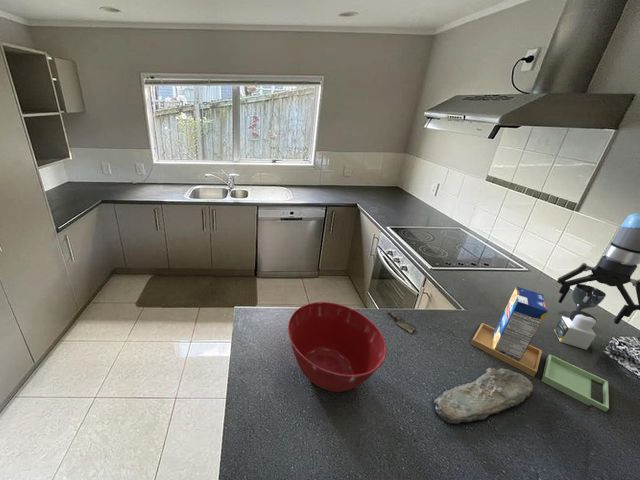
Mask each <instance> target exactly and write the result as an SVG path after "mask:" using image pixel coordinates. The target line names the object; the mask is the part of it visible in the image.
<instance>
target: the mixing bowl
mask: <svg viewBox="0 0 640 480" xmlns="http://www.w3.org/2000/svg"><path fill="white" fill-rule="evenodd" d="M287 333H288V338H289V342H290V345H291V349H292V352H293V355H294V358H295V360H296V362H297V365H298V367H299V368H300V370H301V371H302V373H303V375H304V376H305V377H306V378H307V379H308V380H309V381H310V382H311V383H312V384H314V385H315V386H317V387H319V388H321V389H323V390H326V391H329V392H337V393H340V392H346V391H349V390H352V389H354V388H355V389H356V388H357V387H359V386H360V385H362V384H363V383H364V382H366V381H367V380H368V379H370V378H371V376H372V375H373V374H374V373H375V372H376V371H377V370H378V369H380V367H381V366H382V365H383V364H384V362H385V360H386V357H387V344H386V340H385V337H384V335H383V334H382V332H381V331H380V330H379V328H378V327H377V326H376V324H375V323H374V322H372V321H371V319H369V318H368V317H367V316H365V315H364V314H362V313H361V312H359V311H357V310H356V309H353V308H351V307H348V306H346V305H343V304H340V303H335V302H329V301H317V302H316V301H315V302H310V303H306V304H304V305H301V306H300V307H298V308H297V309H295V311H293V313H292V314H291V315H290V318H289V320H288V324H287Z"/></svg>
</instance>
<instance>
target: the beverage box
mask: <svg viewBox="0 0 640 480" xmlns="http://www.w3.org/2000/svg"><path fill="white" fill-rule="evenodd" d="M547 313H548V307H547V304H546V301H545V296H544V294H543V293H539V292H536V291H533V290H530V289H526V288H523V287H521V286H520V287H519V286H515V288H514V290H513V292H512V294H511V296H510V298H509V301H508V303H507V305H506V307H505V309H504V310H503V313H502V315H501V317H500V319H499V321H498V323H497V325H496V327H495V331H494V333H493V349H495V350H497V351H499V352H501V353H503V354H505V355H507V356H509V357H511V358H513V359H515V360H517V361H520V360H521V358H522V356H523V354H524V353H525V351H526V349H527V347H528V345H531V342H532V340H533V338H534V336H535V335H536V333H537V331H538V329H539V328H540V326H541V324H542V322H543V320H544V319H545V318H546V315H547Z"/></svg>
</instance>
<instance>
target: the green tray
mask: <svg viewBox="0 0 640 480" xmlns="http://www.w3.org/2000/svg"><path fill="white" fill-rule="evenodd" d="M546 357H547V358H546V360H545V362H544V363H545V364H544V368H543V373H542V377H541V383H544V384H546V385H547V386H550V387H551V388H554V389H555V390H557V391H559V392H562V393H563V394H565V395H567V396H569V397H570V398H572V399H575V400H576V401H578V402H579V403H582V404H584V405H586V406H588V407H591V406H594V407H595V408H598V409H600V410H601V411H603V412H605V413H607V412H608V410H609V409H610V394H609V393H610V392H609V381H608V380H605V379H604V378H602V377H600V376H597V375H595V374H593V373H591V372H589V371H587V370H584V369H583V368H580V367H578V366H576V365H573V364H572V363H569V362H568V361H565V360H563V359H561V358H559V357H557V356H554V355H552V354H550V353H549V355H548V356H546ZM592 381H594V382H597V383H599V384H601V385H602V403H601V402H599V401H598V400H595V399H593V398H592Z"/></svg>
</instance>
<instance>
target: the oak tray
mask: <svg viewBox="0 0 640 480" xmlns="http://www.w3.org/2000/svg"><path fill="white" fill-rule="evenodd" d="M495 329H496V327H495V328H494V327H492V326H490V325H488V324H486V323H483V322H482V323H481V324H480V326H479V328H478V329H477V330H476V332H475V334H474V335H473V338H472V340H471V342H470V345H472V346H473V347H475V348H477V349H479V350H481V351H482V352H485V353H486V354H489V355H491V356H492V357H494V358H496V359H498V360H499V361H502V362H503V363H506V364H508V365H510V366H512V367H514V368H515V369H517V370H519V371H521V372H523V373H525V374H526V375H528V376H531V377H532V378H535V376H536V375H537V372H538V370H539V365H540V362H541V357H542V354H543V350H542V349H540V348H538V347H535V346H534V345H531V344H529V345H528V347H527V349H526V351H525V353H524V354H523V356H522V358H521V360H520V361H517V360H515V359H513V358H511V357H509V356H507V355H505V354H503V353H501V352H499V351H497V350H495V349H493V333H494V331H495Z"/></svg>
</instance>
